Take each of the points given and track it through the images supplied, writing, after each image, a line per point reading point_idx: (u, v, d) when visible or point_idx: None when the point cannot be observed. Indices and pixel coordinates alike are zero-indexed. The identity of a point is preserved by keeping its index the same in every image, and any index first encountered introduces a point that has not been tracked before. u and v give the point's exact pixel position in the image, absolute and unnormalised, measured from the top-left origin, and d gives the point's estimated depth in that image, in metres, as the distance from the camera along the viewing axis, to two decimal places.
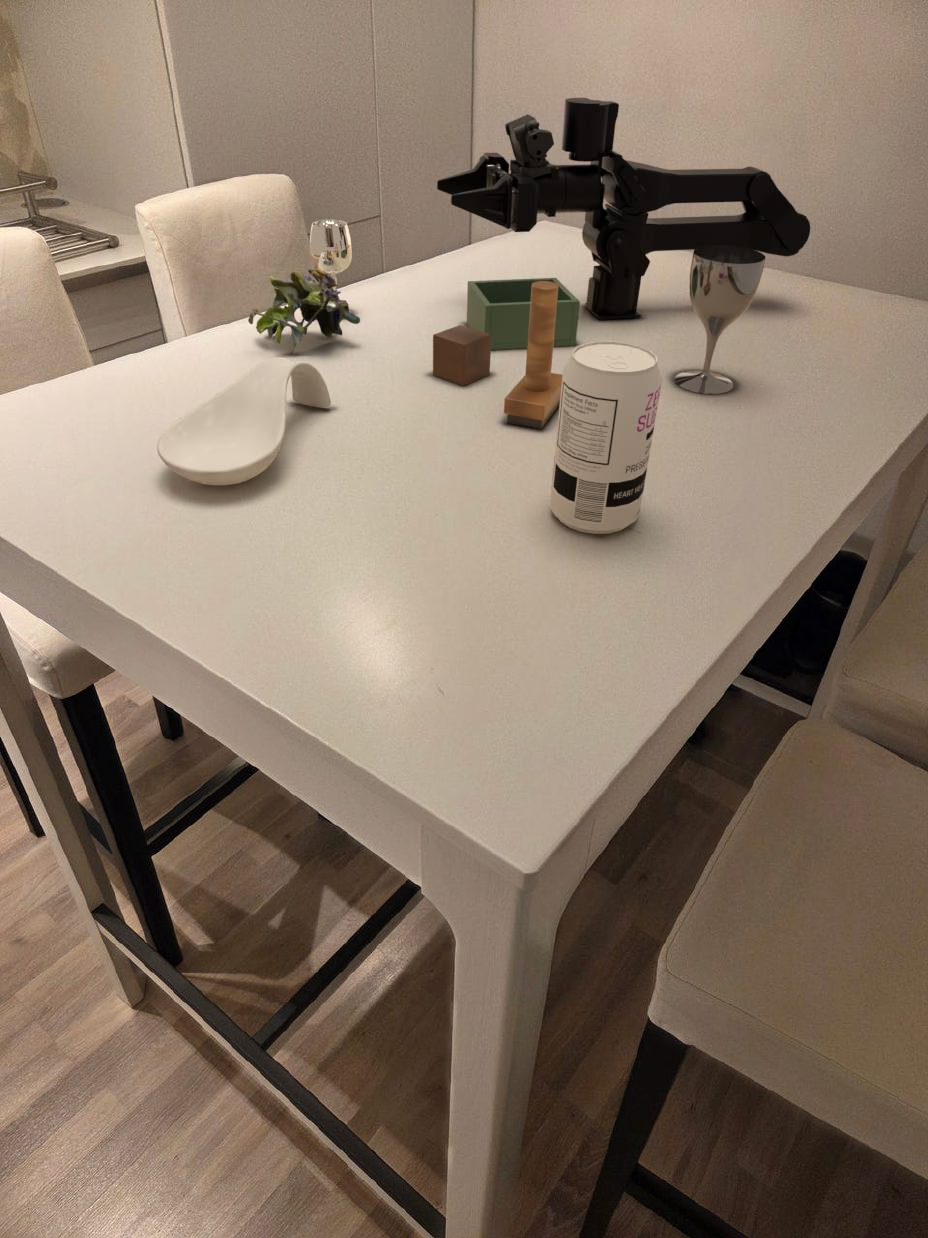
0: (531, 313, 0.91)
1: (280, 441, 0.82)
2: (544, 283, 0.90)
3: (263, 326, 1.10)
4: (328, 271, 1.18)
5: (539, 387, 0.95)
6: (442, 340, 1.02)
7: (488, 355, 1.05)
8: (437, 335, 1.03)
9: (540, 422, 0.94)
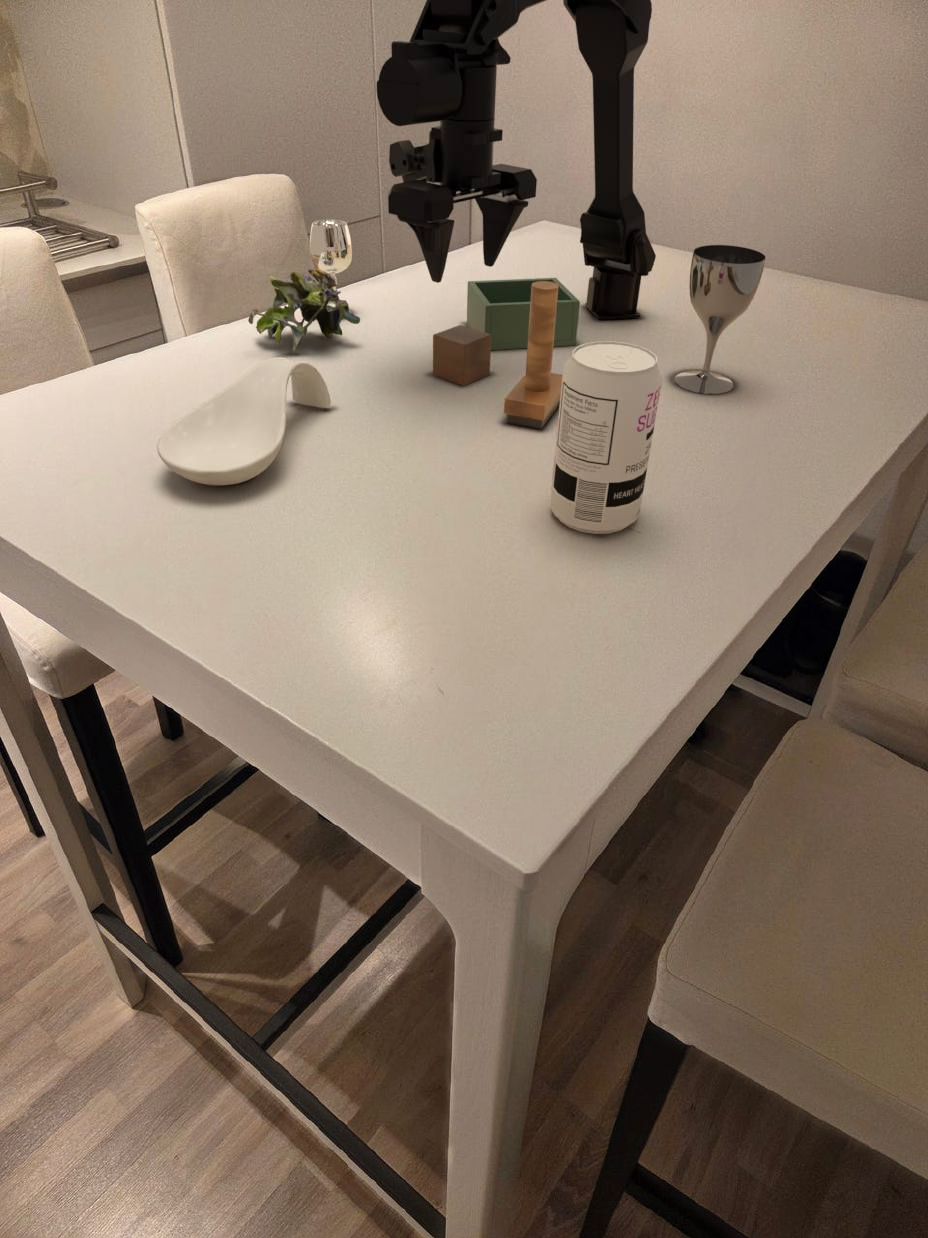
0: (531, 313, 0.91)
1: (280, 441, 0.82)
2: (544, 283, 0.90)
3: (263, 326, 1.10)
4: (328, 271, 1.18)
5: (539, 387, 0.95)
6: (442, 340, 1.02)
7: (488, 355, 1.05)
8: (437, 335, 1.03)
9: (540, 422, 0.94)
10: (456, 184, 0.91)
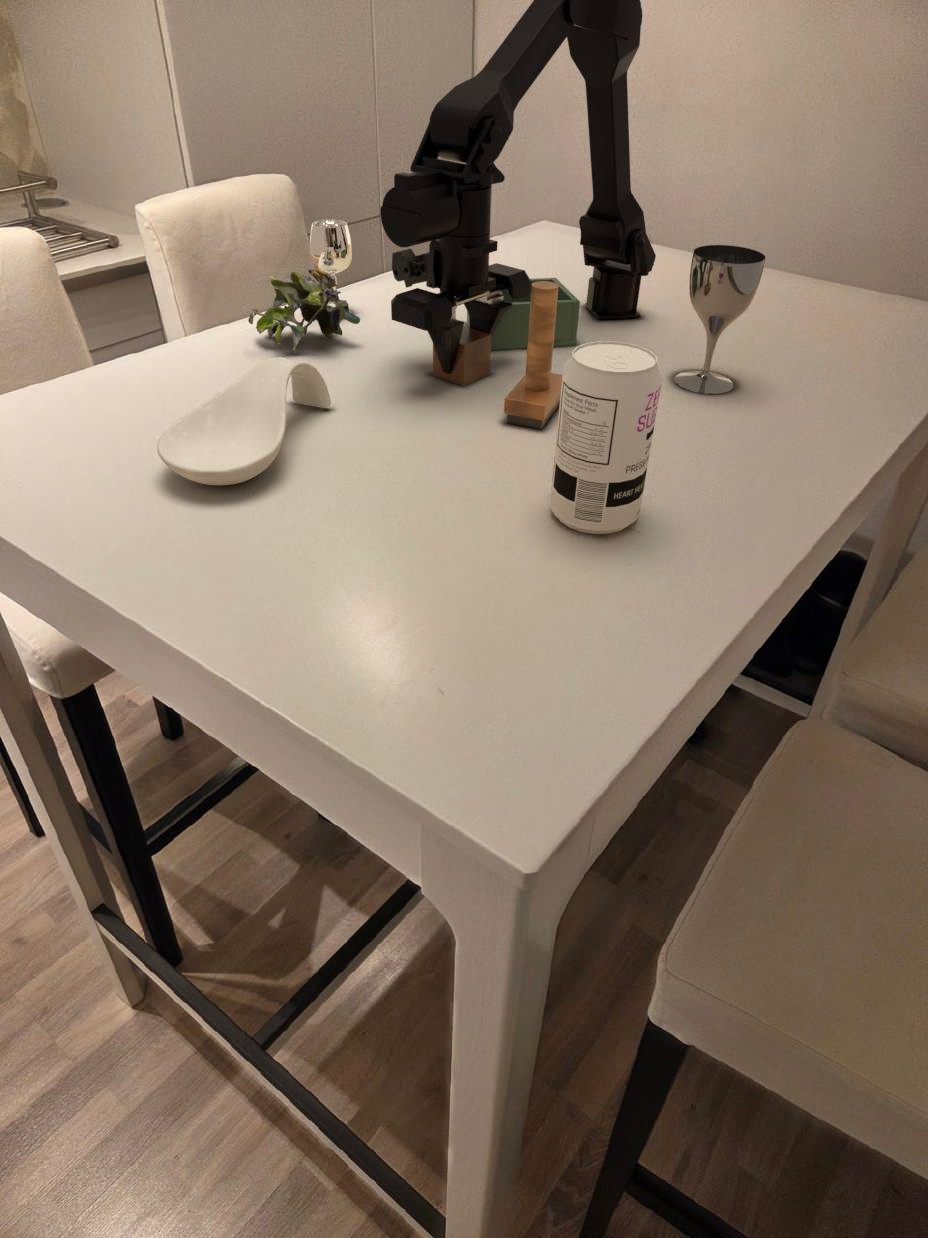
0: (531, 313, 0.91)
1: (280, 441, 0.82)
2: (544, 283, 0.90)
3: (263, 326, 1.10)
4: (328, 271, 1.18)
5: (539, 387, 0.95)
6: None
7: (488, 355, 1.05)
8: None
9: (540, 422, 0.94)
10: (454, 291, 0.97)
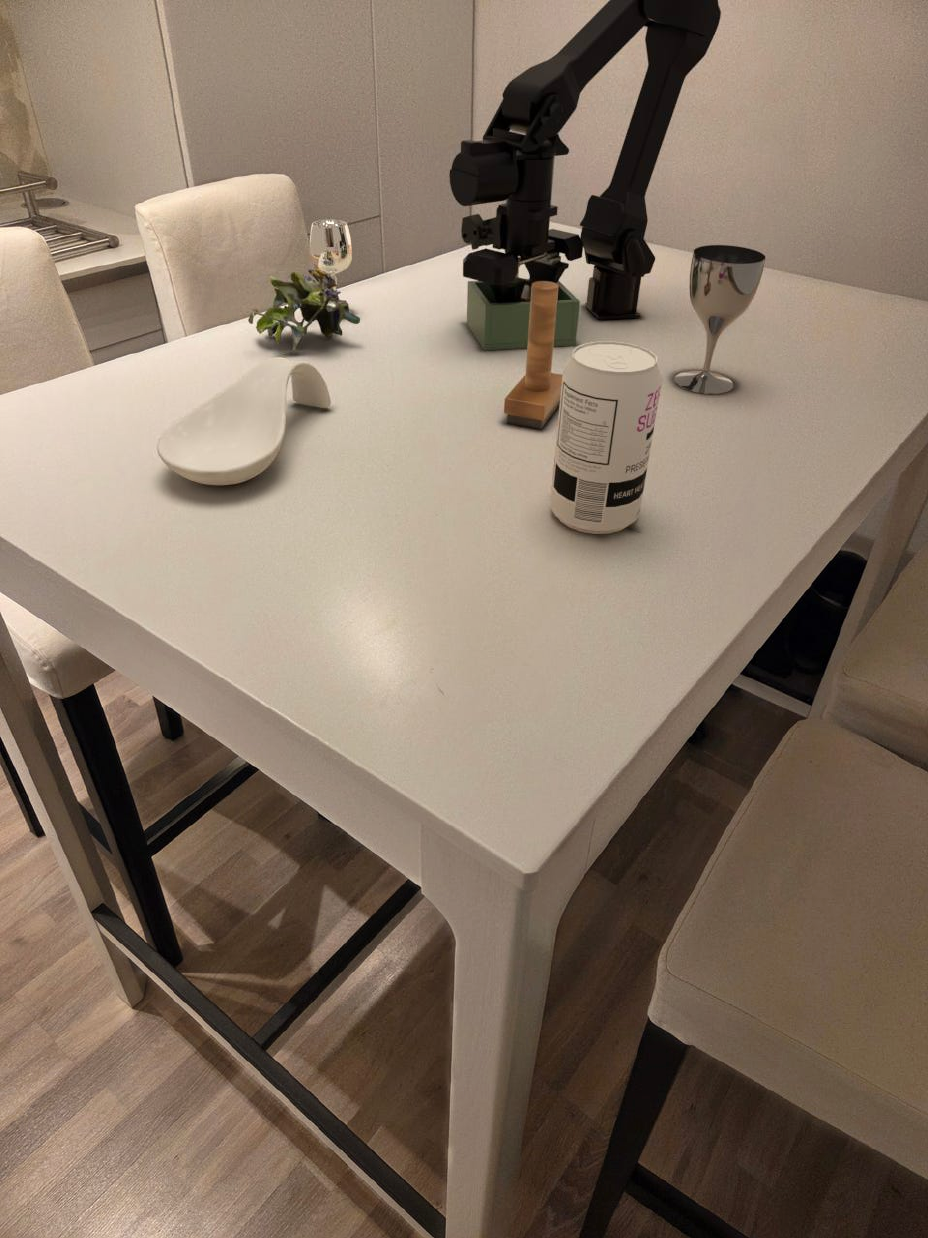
0: (531, 313, 0.91)
1: (280, 441, 0.82)
2: (544, 283, 0.90)
3: (263, 326, 1.10)
4: (328, 271, 1.18)
5: (539, 387, 0.95)
6: None
7: None
8: None
9: (540, 422, 0.94)
10: (519, 251, 1.09)
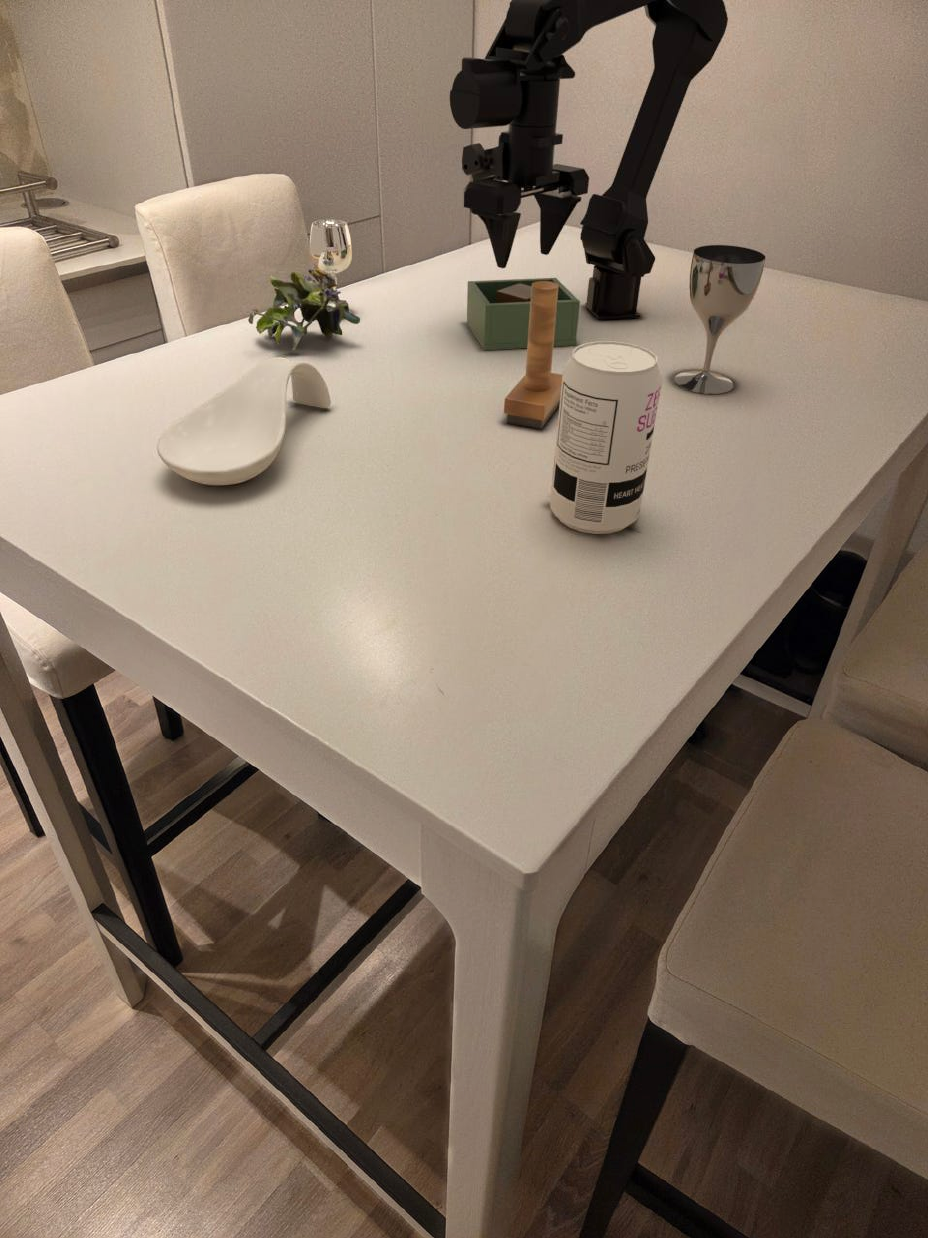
0: (531, 313, 0.91)
1: (280, 441, 0.82)
2: (544, 283, 0.90)
3: (263, 326, 1.10)
4: (328, 271, 1.18)
5: (539, 387, 0.95)
6: (505, 295, 1.14)
7: None
8: (500, 291, 1.14)
9: (540, 422, 0.94)
10: (522, 182, 1.04)
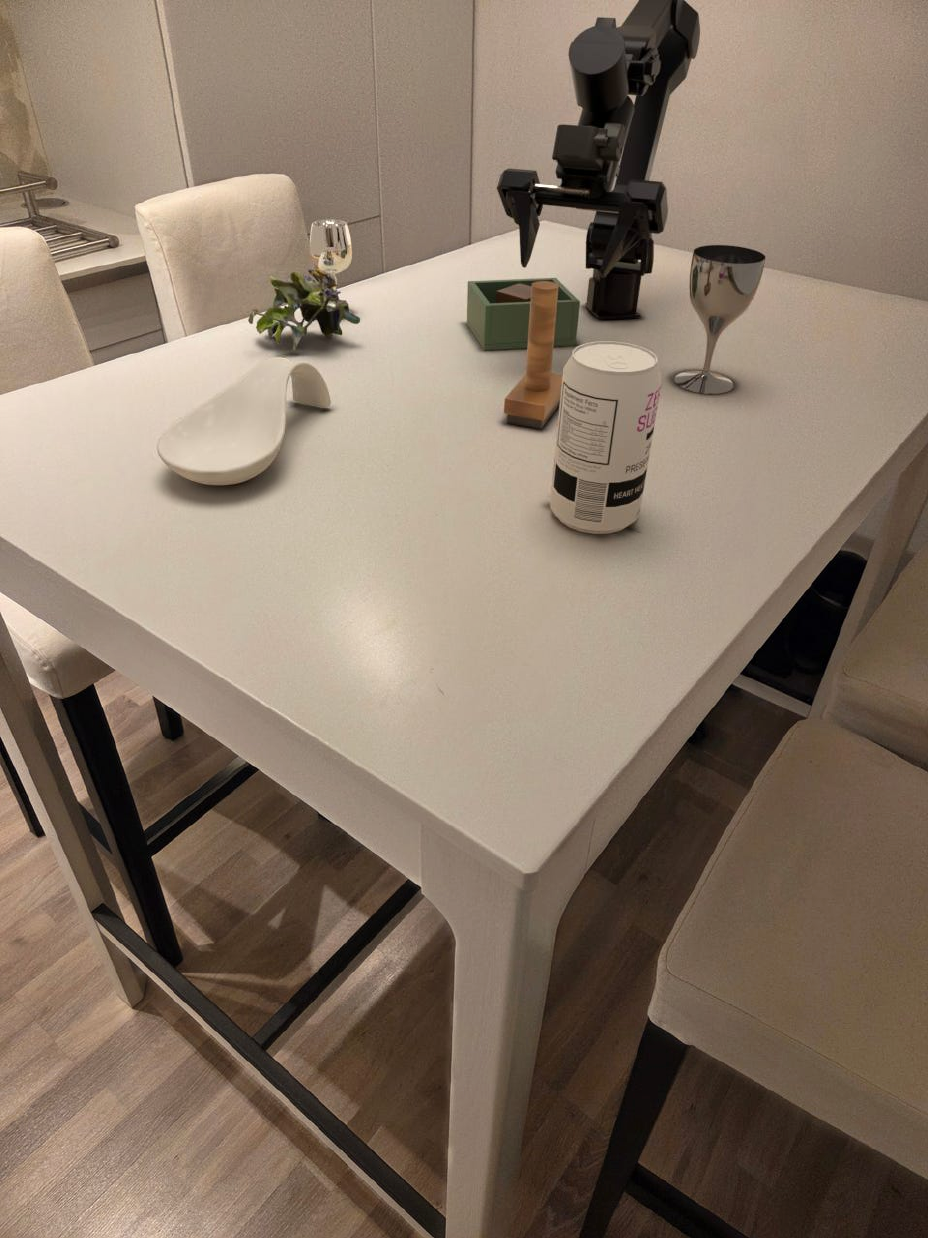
0: (531, 313, 0.91)
1: (280, 441, 0.82)
2: (544, 283, 0.90)
3: (263, 326, 1.10)
4: (328, 271, 1.18)
5: (539, 387, 0.95)
6: (505, 295, 1.14)
7: None
8: (500, 291, 1.14)
9: (540, 422, 0.94)
10: None
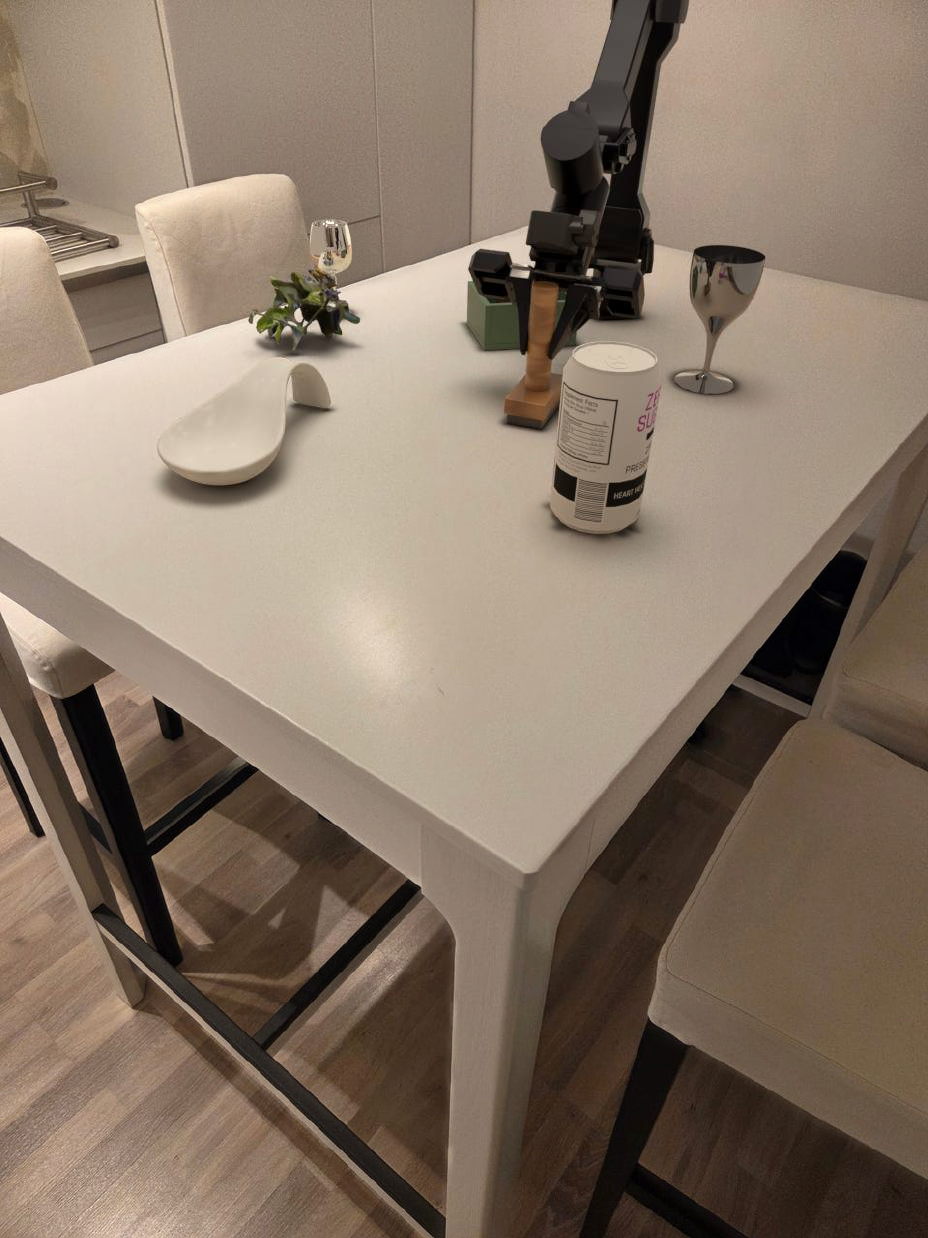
0: (531, 313, 0.91)
1: (280, 441, 0.82)
2: (544, 283, 0.90)
3: (263, 326, 1.10)
4: (328, 271, 1.18)
5: (539, 387, 0.95)
6: None
7: None
8: None
9: (540, 422, 0.94)
10: None
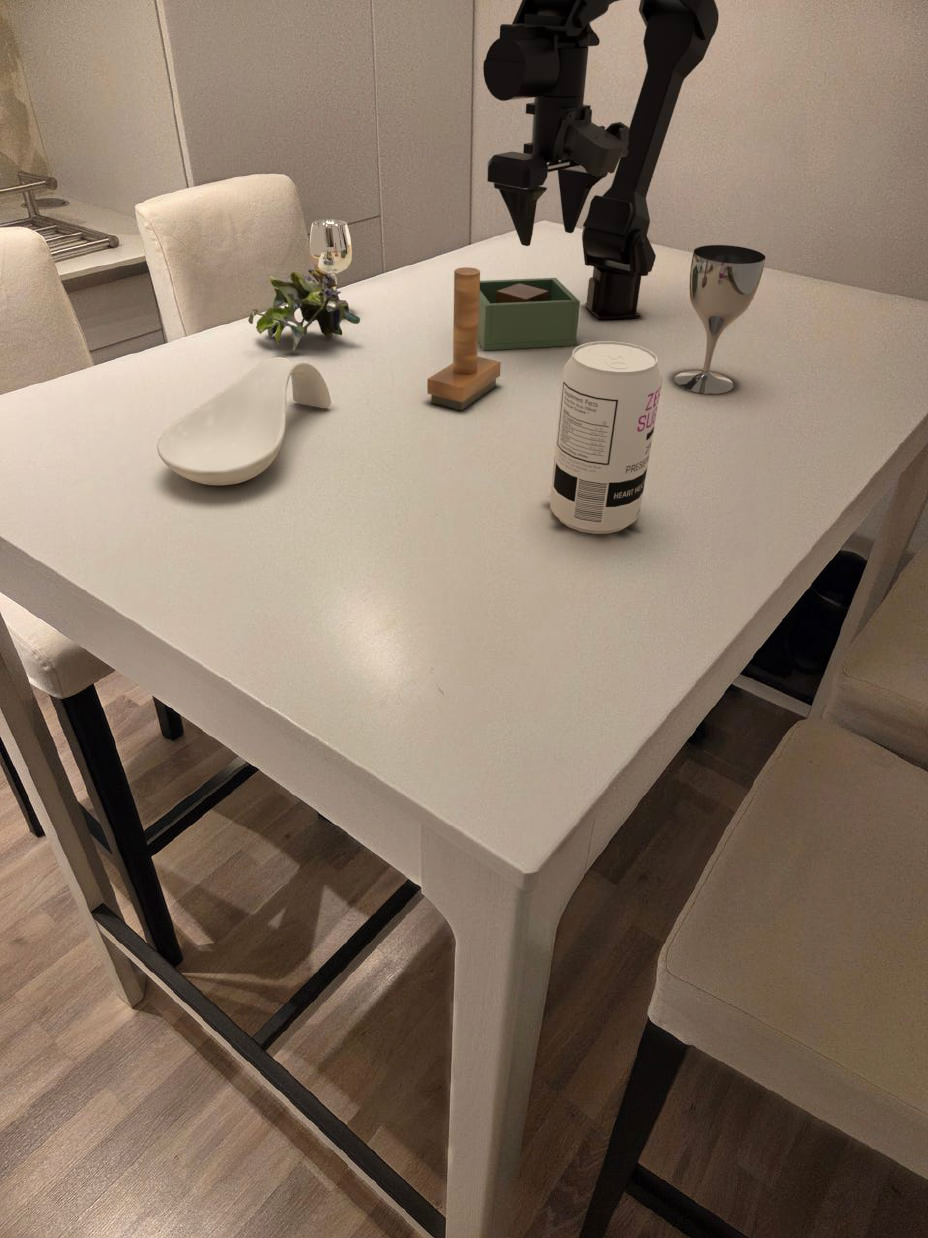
0: (454, 298, 0.94)
1: (280, 441, 0.82)
2: (467, 269, 0.93)
3: (263, 326, 1.10)
4: (328, 271, 1.18)
5: (464, 370, 0.98)
6: (505, 295, 1.14)
7: None
8: (500, 291, 1.14)
9: (460, 404, 0.97)
10: None
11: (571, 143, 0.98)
